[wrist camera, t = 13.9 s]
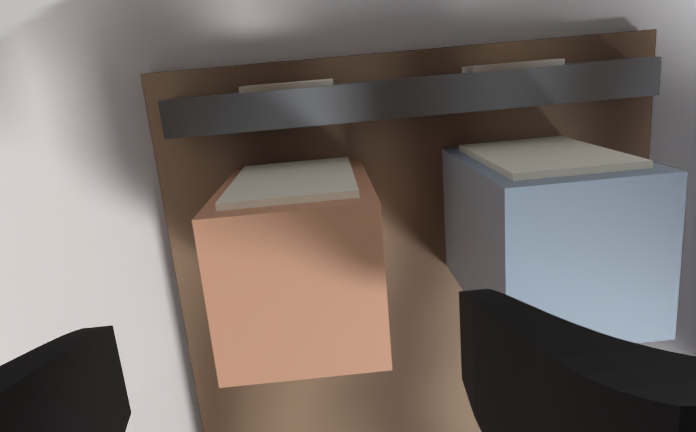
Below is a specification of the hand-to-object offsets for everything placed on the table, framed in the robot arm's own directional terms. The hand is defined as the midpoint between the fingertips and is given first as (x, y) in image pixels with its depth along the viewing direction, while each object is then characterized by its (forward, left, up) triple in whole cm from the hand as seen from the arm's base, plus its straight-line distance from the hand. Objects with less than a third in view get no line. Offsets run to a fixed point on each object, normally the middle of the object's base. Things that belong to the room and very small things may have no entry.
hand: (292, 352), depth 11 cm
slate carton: (-8, 0, -9) cm, 12 cm away
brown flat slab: (-4, +6, -10) cm, 12 cm away
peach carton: (0, 0, -9) cm, 9 cm away
